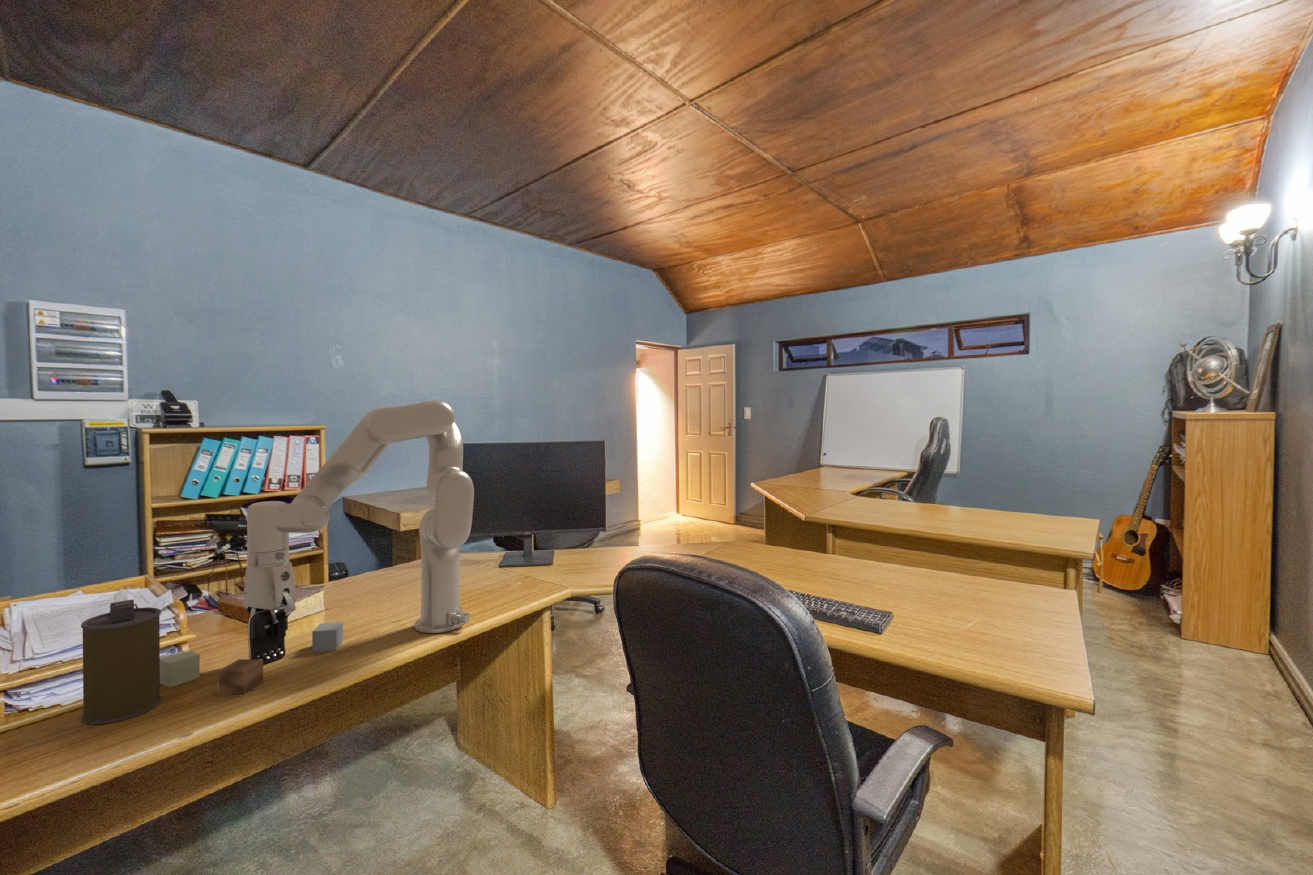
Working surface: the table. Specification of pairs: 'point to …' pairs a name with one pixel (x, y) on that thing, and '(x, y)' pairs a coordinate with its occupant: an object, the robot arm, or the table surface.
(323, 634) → the slate cube
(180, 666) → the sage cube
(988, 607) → the table surface
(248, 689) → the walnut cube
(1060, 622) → the table surface
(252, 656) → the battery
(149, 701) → the canister
